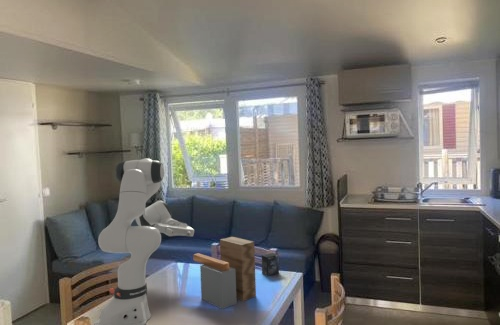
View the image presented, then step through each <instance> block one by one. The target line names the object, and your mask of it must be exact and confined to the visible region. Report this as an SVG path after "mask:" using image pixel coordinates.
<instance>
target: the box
mask: <svg viewBox="0 0 500 325" xmlns="http://www.w3.org/2000/svg"><path fill="white" fill-rule="evenodd" d="M279 256H280V255H279V254H277V253H274V252H271V253H266V254H262V255H261V274H262V275H264V274H265V276H266V275H267V277H268V276H273V275H277V273H278V274H280V271H279V270H280V268H279V266H280V264H279V261H280V260H279V258H280V257H279Z"/></svg>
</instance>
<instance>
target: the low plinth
mask: <svg viewBox="0 0 500 325" xmlns="http://www.w3.org/2000/svg"><path fill="white" fill-rule="evenodd" d="M199 267H200V269H199V270H200V293H201V294H200V295H201V296H200V297H201V300H202V301H203V302H206V303H209V304H211V305H214V306H215V307H218V308H220V309H221V310H223V309H226V308H229V307H232V306H233V305H237V298H236V271H235V268H232V267H229V270H226V271H222V270H220V269H217V268H214V267H211V266H208V265H205V264H200V266H199Z"/></svg>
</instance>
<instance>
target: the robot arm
mask: <svg viewBox="0 0 500 325" xmlns="http://www.w3.org/2000/svg"><path fill="white" fill-rule="evenodd" d="M114 174H115V178H116V180H117V182H119V183H120V187H119V188H120V189H119V198H118V204H117V205H118V206H117V211H116V214H115V216H114V218H113V219H112V221H111V222H110V223H109V224H108V225H107V227H106V226H105V228H103V229H102V230H101V232H100V233H99V235H98V239H97V240H98V241H97V243H98V247H99V248H100V250H101V251H102V252H105V253H110V254H130V258H129V259H127V260H126V261H124V262H122V263H121V264H120V265H119V266H118V268H117V287H116V288H113V287H111V288H110V289H109V293H110V294H112V295H113V297H112V298H111V299H110V300H109V302H107V304H105V305H104V306H103V307H102V309H101V310H100V313H99V319H97V320H95V321H94V325H146V324H147V322H148V321H149V320H150V318H151V317H152V314H151V311H150V309H149V304H148V303H149V302H148V298H147V295H148V285H147V282H146V268H147V267H146V266H147V263H148V260H149V258H150V257H151V255H152V254H153V253H154V252H155V251H157V250H158V249H159V248H160V246H161V243H162V234H165V235H166V236H168V237H175V236H184V237H185V236H186V237H194V234H195V229H194V228H192V227H191V226H190V225H188V224H187V223H186V222H181V221H178V220H176V219H174V218H172V216H173V212H172V208H170V206H169V204H168V203H167V202H165V201H163V200H157V201H155V202H153V203H152V204H151V205H149V206H147V207H146V204H147V202H148V200H150V198H152V196H154V195H155V194H156V193H157V192H158V191H159V190H160V188H161V185H162V180H163V179H164V176H165V168H164V165H163V163H162V162H161V161H159V160H157V159H156V160H152V159H151V158H145V157H144V158H142V159H133V160H123V161H120V162H118V163H117V165H116V166H115V173H114ZM134 221H135V222H136V224H137V225H132V223H133V222H134Z"/></svg>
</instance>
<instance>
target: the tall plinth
mask: <svg viewBox="0 0 500 325" xmlns="http://www.w3.org/2000/svg"><path fill="white" fill-rule="evenodd" d="M255 252H256V251H255V241H253V240H248V239H244V238H241V237H236V236H229V237H226V238H221V239H219V253H220V254H219V256H220V257H219V258H220V260H222V261H225V262H228V263H229V267H232V268H235V271H236V300H240V301H242V302H244V301H247V300H249V299H253V298H254V297H256V296H257V290H256V289H257V288H256V286H257V285H256V283H257V282H256V257H255V256H256V255H255V254H256V253H255Z"/></svg>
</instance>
